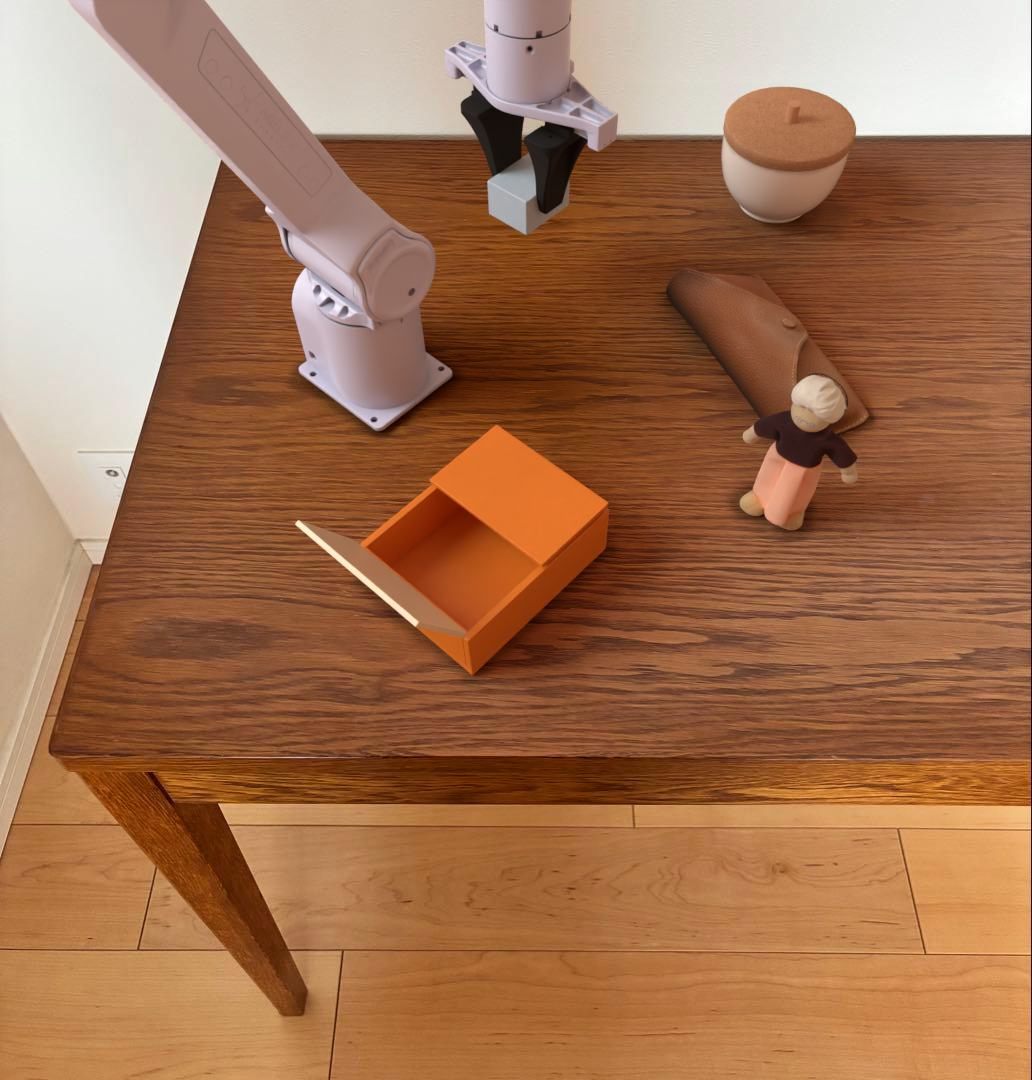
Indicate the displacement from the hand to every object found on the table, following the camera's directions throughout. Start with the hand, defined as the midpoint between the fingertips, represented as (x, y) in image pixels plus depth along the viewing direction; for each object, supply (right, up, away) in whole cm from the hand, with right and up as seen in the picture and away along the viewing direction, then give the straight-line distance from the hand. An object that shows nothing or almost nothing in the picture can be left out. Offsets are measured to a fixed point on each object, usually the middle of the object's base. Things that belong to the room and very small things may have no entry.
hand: (529, 194), depth 76 cm
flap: (-9, -29, -19) cm, 36 cm away
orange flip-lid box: (-3, -28, -9) cm, 30 cm away
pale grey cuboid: (0, -1, +1) cm, 1 cm away
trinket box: (+22, +4, +12) cm, 25 cm away
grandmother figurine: (+17, -25, -7) cm, 31 cm away
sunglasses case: (+18, -13, +1) cm, 22 cm away
